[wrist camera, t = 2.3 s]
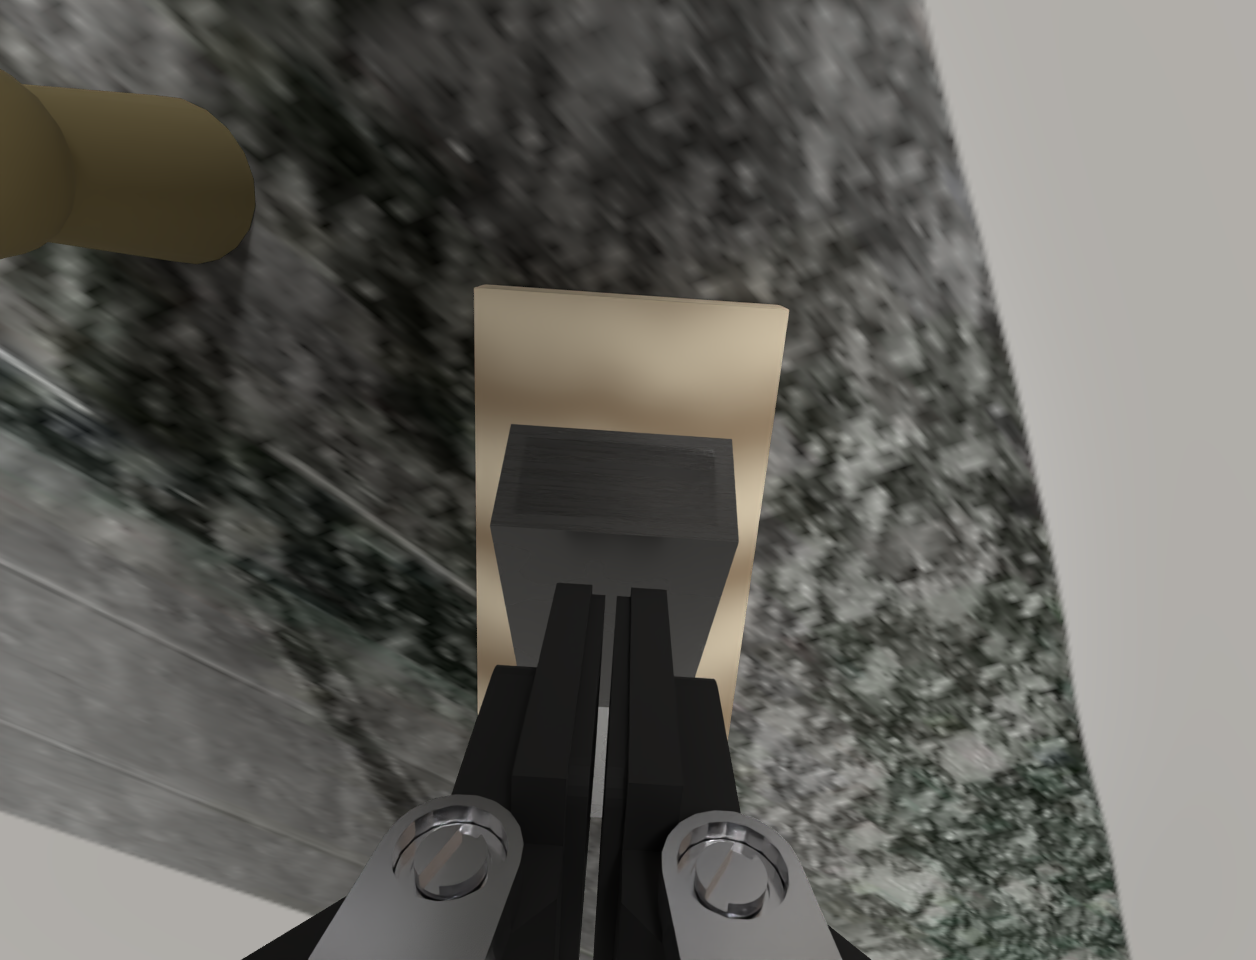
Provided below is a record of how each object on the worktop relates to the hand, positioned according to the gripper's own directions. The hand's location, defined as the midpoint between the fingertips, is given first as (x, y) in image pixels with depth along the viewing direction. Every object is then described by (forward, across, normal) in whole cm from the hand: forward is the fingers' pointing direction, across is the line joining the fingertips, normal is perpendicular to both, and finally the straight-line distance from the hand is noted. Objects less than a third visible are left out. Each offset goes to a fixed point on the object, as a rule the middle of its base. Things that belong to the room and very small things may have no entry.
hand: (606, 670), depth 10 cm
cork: (+20, +18, -7) cm, 28 cm away
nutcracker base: (+20, 0, +6) cm, 21 cm away
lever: (+9, 0, +4) cm, 9 cm away
